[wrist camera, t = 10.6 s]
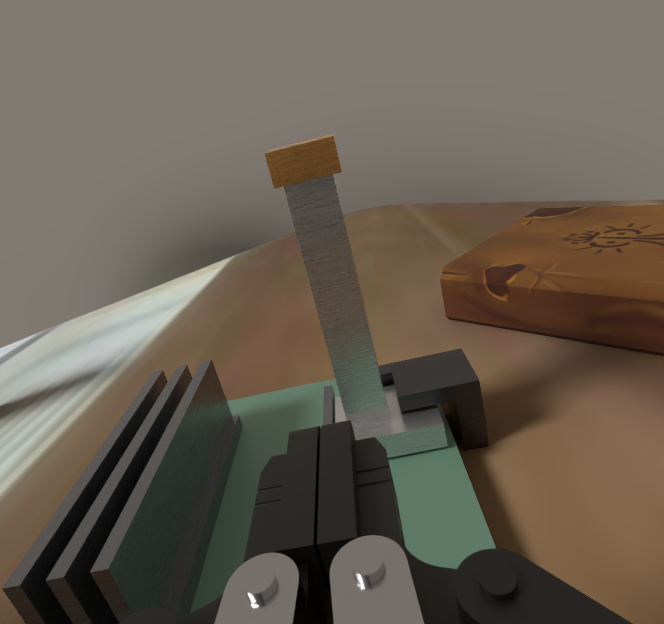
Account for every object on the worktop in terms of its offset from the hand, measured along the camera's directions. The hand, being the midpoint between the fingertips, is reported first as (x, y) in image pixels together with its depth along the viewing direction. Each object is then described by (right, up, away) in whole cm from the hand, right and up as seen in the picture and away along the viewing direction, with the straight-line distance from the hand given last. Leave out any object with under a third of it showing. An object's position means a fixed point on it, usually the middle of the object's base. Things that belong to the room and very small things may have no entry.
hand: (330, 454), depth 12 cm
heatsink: (-1, -8, +15) cm, 17 cm away
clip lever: (+3, -4, +17) cm, 18 cm away
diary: (+25, +4, +30) cm, 40 cm away
